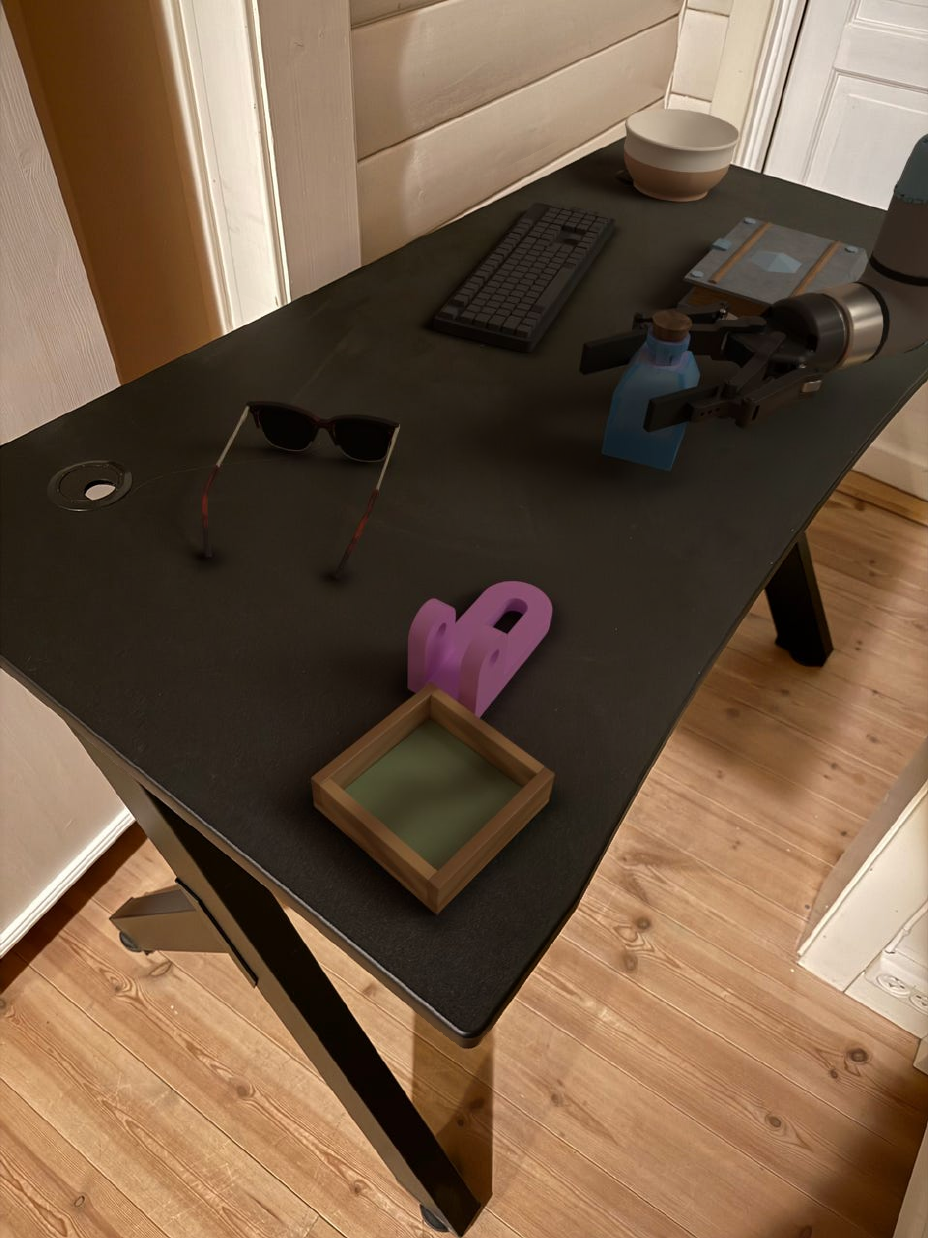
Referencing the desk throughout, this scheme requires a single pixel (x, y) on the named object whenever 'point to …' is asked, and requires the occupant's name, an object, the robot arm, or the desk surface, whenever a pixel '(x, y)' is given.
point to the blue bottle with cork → (651, 393)
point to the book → (769, 267)
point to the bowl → (678, 152)
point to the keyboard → (526, 277)
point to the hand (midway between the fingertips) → (615, 386)
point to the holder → (432, 794)
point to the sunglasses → (300, 428)
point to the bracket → (476, 643)
